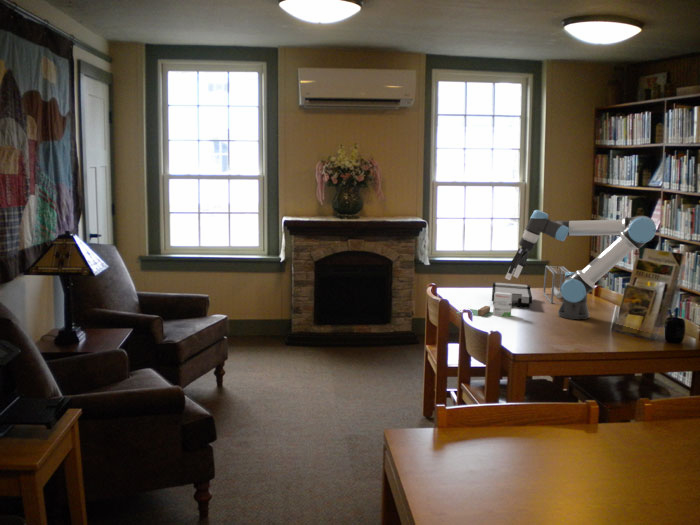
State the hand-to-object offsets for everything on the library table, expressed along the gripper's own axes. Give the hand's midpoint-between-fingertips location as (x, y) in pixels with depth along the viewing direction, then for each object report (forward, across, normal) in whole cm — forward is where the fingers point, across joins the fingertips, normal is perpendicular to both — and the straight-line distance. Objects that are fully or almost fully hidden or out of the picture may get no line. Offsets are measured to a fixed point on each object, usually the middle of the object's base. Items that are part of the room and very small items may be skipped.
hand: (511, 278), depth 360 cm
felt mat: (+23, +8, -8) cm, 26 cm away
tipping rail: (+21, +8, -3) cm, 23 cm away
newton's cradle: (+12, -61, +14) cm, 64 cm away
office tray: (+20, -33, -2) cm, 39 cm away
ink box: (+19, +4, +5) cm, 20 cm away
